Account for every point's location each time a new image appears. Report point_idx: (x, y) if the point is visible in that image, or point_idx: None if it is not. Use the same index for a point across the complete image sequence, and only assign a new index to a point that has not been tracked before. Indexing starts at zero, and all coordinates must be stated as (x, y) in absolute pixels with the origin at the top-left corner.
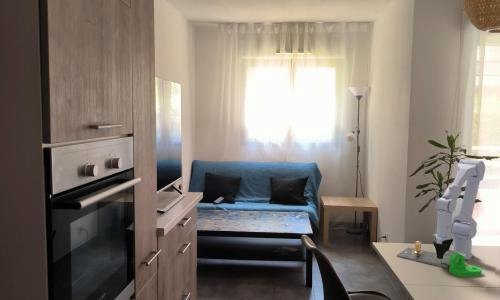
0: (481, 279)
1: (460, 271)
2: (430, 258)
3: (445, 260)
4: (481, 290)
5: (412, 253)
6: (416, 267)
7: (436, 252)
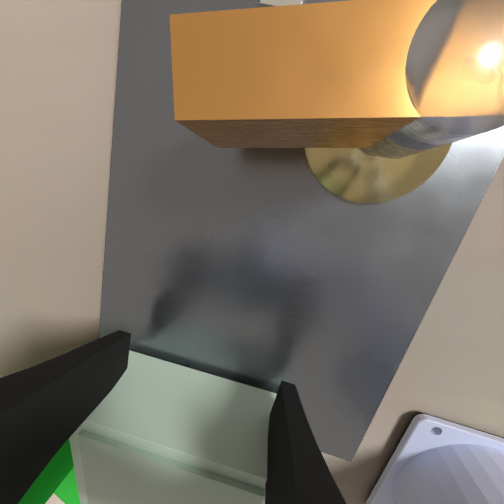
0: None
1: None
2: (201, 265)
3: None
4: None
5: None
6: (3, 161)
7: (56, 359)
